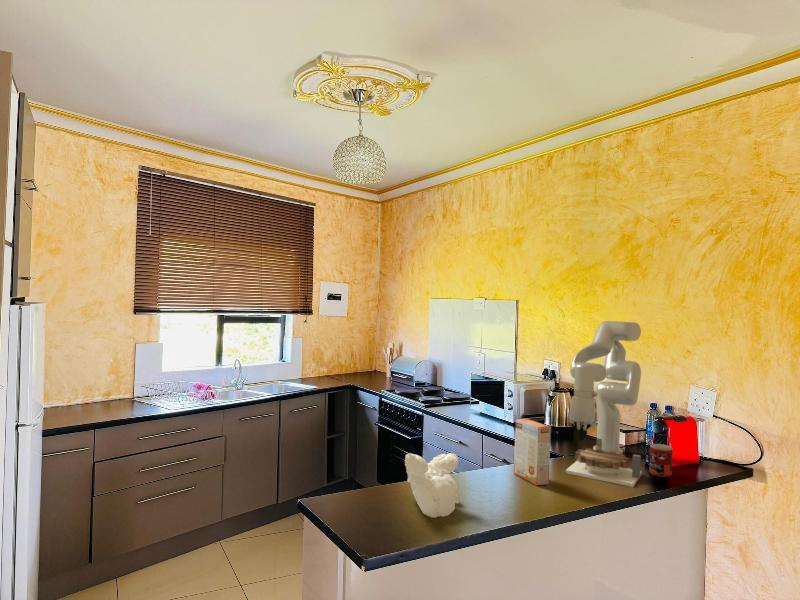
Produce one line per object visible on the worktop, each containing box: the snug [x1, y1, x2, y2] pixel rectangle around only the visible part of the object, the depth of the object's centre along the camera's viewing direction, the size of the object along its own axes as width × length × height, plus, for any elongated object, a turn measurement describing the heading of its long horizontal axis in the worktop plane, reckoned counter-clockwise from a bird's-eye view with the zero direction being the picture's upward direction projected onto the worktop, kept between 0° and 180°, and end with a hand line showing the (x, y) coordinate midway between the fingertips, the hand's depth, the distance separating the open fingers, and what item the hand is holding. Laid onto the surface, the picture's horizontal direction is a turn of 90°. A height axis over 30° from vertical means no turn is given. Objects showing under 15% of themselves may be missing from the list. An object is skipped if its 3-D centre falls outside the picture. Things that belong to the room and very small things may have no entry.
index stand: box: [565, 453, 643, 488], centre depth 195 cm, size 19×25×9 cm
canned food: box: [648, 443, 674, 478], centre depth 198 cm, size 8×8×11 cm
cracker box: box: [513, 418, 552, 486], centre depth 185 cm, size 14×6×21 cm, turn 22°
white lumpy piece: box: [404, 452, 460, 519], centre depth 156 cm, size 19×20×20 cm
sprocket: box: [574, 438, 630, 469], centre depth 196 cm, size 19×19×7 cm
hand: (582, 439), depth 205 cm, fingers closed
